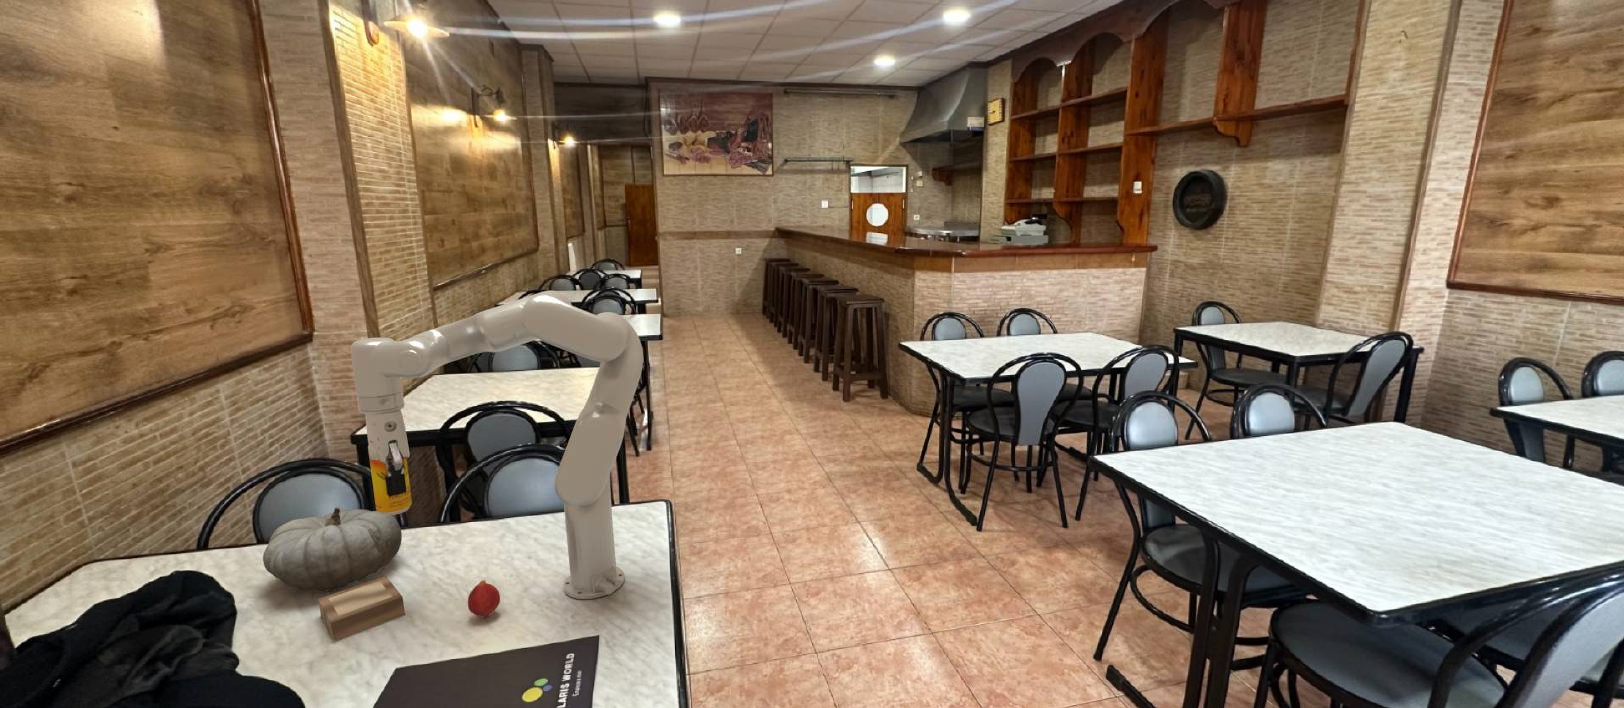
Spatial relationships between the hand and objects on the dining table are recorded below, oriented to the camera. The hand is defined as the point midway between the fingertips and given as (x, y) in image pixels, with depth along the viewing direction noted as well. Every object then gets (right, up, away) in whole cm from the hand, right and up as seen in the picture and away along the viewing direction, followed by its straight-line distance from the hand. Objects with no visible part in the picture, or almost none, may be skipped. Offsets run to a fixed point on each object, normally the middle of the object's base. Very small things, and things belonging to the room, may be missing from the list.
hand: (391, 488), depth 132 cm
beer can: (0, -5, +1) cm, 5 cm away
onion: (+18, -26, +2) cm, 32 cm away
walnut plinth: (-7, -26, +3) cm, 28 cm away
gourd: (-23, -24, +18) cm, 38 cm away
